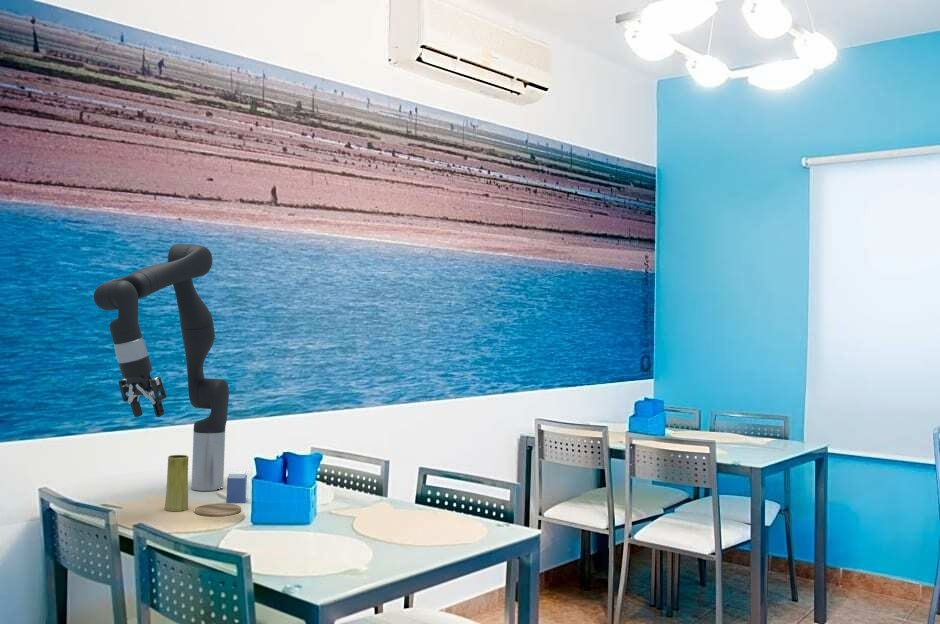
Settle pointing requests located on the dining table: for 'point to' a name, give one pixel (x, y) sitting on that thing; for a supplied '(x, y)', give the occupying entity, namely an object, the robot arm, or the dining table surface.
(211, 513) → the disc
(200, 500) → the dining table surface
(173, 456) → the vase
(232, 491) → the slate blue block
